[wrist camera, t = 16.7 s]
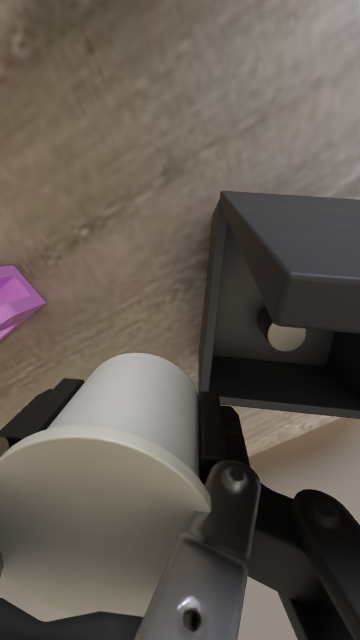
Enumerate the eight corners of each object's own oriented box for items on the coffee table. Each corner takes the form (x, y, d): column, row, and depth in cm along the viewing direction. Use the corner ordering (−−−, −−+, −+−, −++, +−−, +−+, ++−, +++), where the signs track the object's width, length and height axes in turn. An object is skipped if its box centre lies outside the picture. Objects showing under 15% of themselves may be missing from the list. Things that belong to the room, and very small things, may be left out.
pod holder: (285, 335, 31) (302, 353, 26) (254, 333, 31) (264, 350, 26) (291, 305, 30) (310, 317, 25) (258, 302, 30) (270, 314, 25)
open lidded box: (328, 369, 32) (380, 421, 23) (198, 357, 33) (198, 402, 24) (364, 223, 28) (449, 213, 18) (213, 212, 29) (219, 198, 19)
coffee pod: (67, 444, 12) (-29, 591, 7) (84, 326, 10) (-25, 406, 5) (190, 475, 12) (185, 644, 7) (227, 362, 10) (253, 476, 5)
